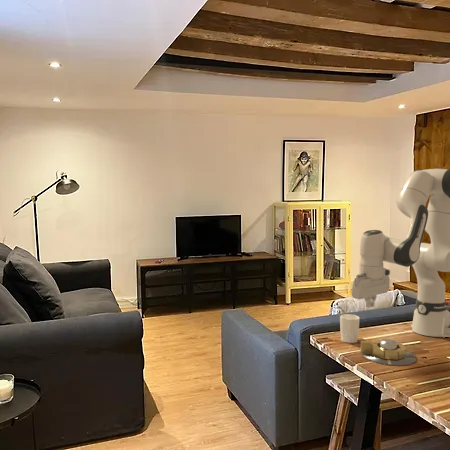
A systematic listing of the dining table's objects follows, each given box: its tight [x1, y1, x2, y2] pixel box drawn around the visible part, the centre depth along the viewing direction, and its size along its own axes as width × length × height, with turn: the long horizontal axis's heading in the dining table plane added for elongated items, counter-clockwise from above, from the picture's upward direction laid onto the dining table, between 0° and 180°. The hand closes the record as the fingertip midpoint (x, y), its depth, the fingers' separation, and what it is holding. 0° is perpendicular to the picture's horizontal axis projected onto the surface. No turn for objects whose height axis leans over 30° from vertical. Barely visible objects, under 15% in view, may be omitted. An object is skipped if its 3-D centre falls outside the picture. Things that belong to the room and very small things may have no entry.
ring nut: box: [360, 339, 407, 360], centre depth 176 cm, size 16×12×4 cm
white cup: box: [339, 313, 360, 344], centre depth 193 cm, size 8×8×10 cm
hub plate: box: [360, 338, 417, 367], centre depth 176 cm, size 20×20×5 cm
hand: (370, 306), depth 181 cm, fingers closed
